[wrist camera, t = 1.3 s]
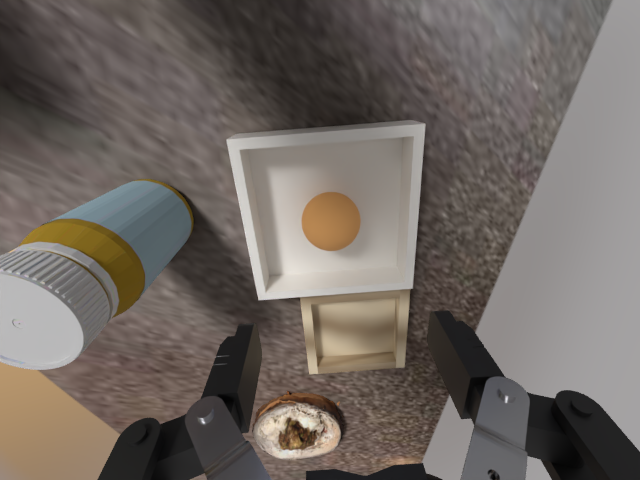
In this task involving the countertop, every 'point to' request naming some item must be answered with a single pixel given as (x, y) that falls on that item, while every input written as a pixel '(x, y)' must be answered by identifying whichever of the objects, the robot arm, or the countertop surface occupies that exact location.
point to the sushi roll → (298, 426)
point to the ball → (331, 221)
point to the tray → (356, 330)
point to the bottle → (86, 271)
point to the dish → (330, 176)
